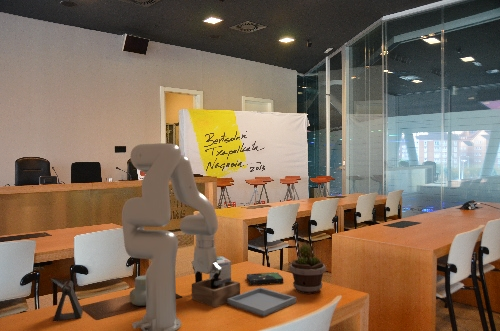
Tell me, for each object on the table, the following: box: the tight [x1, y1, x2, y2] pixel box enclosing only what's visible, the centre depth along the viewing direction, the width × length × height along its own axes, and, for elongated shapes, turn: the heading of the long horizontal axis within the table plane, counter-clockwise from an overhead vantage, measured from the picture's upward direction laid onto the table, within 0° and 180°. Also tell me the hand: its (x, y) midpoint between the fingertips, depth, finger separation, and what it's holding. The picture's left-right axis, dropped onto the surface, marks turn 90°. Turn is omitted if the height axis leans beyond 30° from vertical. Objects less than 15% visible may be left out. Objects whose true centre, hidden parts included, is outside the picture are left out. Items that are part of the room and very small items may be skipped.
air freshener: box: [129, 274, 146, 307], centre depth 155 cm, size 11×8×10 cm
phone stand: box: [52, 280, 84, 322], centre depth 142 cm, size 9×6×12 cm, turn 106°
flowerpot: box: [289, 240, 327, 295], centre depth 168 cm, size 14×15×20 cm
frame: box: [191, 277, 241, 308], centre depth 159 cm, size 13×13×6 cm
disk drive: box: [246, 272, 284, 286], centre depth 181 cm, size 10×3×15 cm
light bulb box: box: [208, 255, 232, 279], centre depth 178 cm, size 11×7×11 cm, turn 25°
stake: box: [214, 277, 232, 287], centre depth 156 cm, size 8×2×8 cm, turn 136°
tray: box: [226, 287, 297, 317], centre depth 153 cm, size 18×18×2 cm
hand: (206, 285), depth 164 cm, fingers open, 9 cm apart
